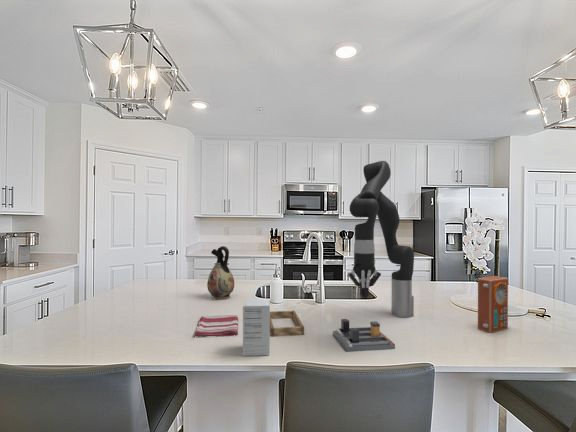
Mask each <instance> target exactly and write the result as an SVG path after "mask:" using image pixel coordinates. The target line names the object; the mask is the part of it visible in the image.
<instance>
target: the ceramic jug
mask: <svg viewBox="0 0 576 432" xmlns="http://www.w3.org/2000/svg"><path fill="white" fill-rule="evenodd" d="M223 251H224V253H223ZM210 253H211V255H213V256H215V257H216V263H215V264H214V266H213V267H212V269H211V271H210V273H209V275H208V278H207V283H206V285H207V291H208V292H209V294H211V296H212V297H213V299H214V298H215V299H214V300H226V299H229V298H231V294H232V292H233V291H234V289H235V278H234V275H233V273H232V271H231V270H230V268H229V267H228V262H229V258H230V257H229V256H230V250H229V248H228V247H227V246H224V245H223V246H222V245H221V246H219V247H218V248H217V249H216V248H214V249H212V250H211V252H210Z"/></svg>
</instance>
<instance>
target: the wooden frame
mask: <svg viewBox="0 0 576 432" xmlns="http://www.w3.org/2000/svg"><path fill="white" fill-rule="evenodd" d="M272 319H293V321H294V323H295V325H296V326H284V327H274V324H273V320H272ZM270 332H271V333H270V335H271V337H286V336H285V335H290V336H305V326H304V324H303V323H302V321H301V320H300V317H299V316H298V314H297V313H296V311H295V310H279V311H278V310H274V311H272V310H271V311H270Z"/></svg>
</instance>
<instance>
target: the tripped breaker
mask: <svg viewBox="0 0 576 432" xmlns="http://www.w3.org/2000/svg"><path fill="white" fill-rule="evenodd" d="M380 326H381V324H380V322H378V321H370V327H371V336H378V335H380V332H381V331H380Z"/></svg>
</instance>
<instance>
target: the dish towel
mask: <svg viewBox="0 0 576 432" xmlns="http://www.w3.org/2000/svg"><path fill="white" fill-rule="evenodd" d="M238 328H239V317H238V315H236V314H232V315H214V316H213V315H211V316H210V315H209V316H208V315H202V316H200V318H199V321H198V324H197V326H196V330H195V331H194V332H193V333H194V337H195V336H216V337H233V336H234V335H235V336H238V334H239V332H238V330H239V329H238ZM235 336H234V337H235Z"/></svg>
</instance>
